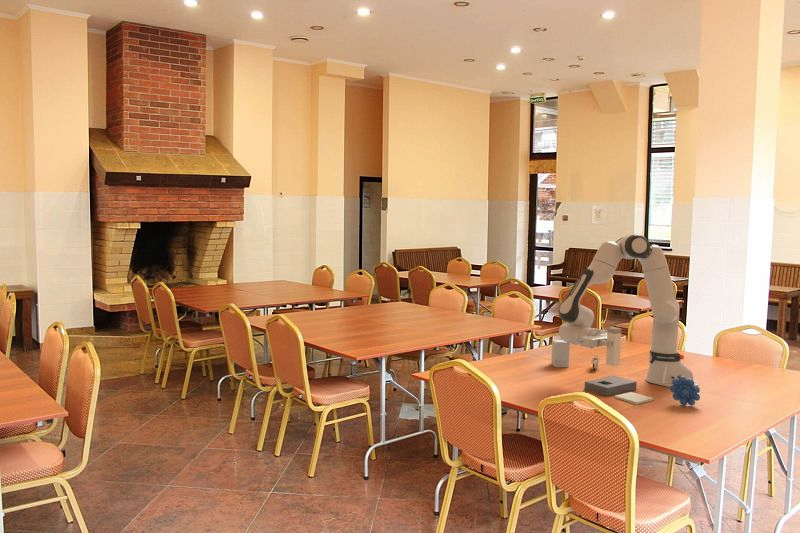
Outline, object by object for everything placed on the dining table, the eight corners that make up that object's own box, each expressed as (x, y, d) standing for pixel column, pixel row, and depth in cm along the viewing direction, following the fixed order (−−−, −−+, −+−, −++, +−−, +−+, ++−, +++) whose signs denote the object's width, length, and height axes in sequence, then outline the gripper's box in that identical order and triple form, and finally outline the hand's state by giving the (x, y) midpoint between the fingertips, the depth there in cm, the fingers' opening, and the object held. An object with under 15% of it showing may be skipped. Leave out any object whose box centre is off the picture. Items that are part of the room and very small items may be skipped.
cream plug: (612, 363, 295) (613, 327, 294) (619, 365, 292) (621, 328, 291) (606, 364, 293) (607, 327, 292) (613, 366, 290) (615, 329, 288)
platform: (609, 367, 341) (609, 354, 341) (606, 375, 324) (607, 362, 324) (584, 365, 345) (585, 352, 345) (580, 373, 329) (581, 359, 328)
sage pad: (630, 394, 292) (630, 391, 292) (653, 400, 283) (653, 398, 283) (614, 398, 286) (614, 395, 286) (636, 404, 277) (636, 402, 277)
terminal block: (613, 383, 310) (614, 375, 309) (636, 389, 300) (636, 381, 299) (584, 389, 298) (584, 381, 298) (606, 396, 288) (607, 388, 288)
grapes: (669, 406, 275) (670, 377, 274) (668, 402, 281) (670, 373, 280) (700, 410, 271) (702, 380, 270) (699, 405, 278) (700, 376, 276)
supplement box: (569, 367, 338) (570, 342, 336) (554, 367, 338) (555, 342, 337) (565, 364, 345) (566, 339, 344) (551, 363, 345) (552, 339, 344)
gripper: (574, 333, 296) (599, 338, 285) (605, 328, 308) (630, 333, 296) (573, 347, 297) (599, 353, 285) (604, 342, 308) (630, 348, 297)
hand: (615, 343), depth 291 cm, fingers closed on cream plug, 4 cm apart
